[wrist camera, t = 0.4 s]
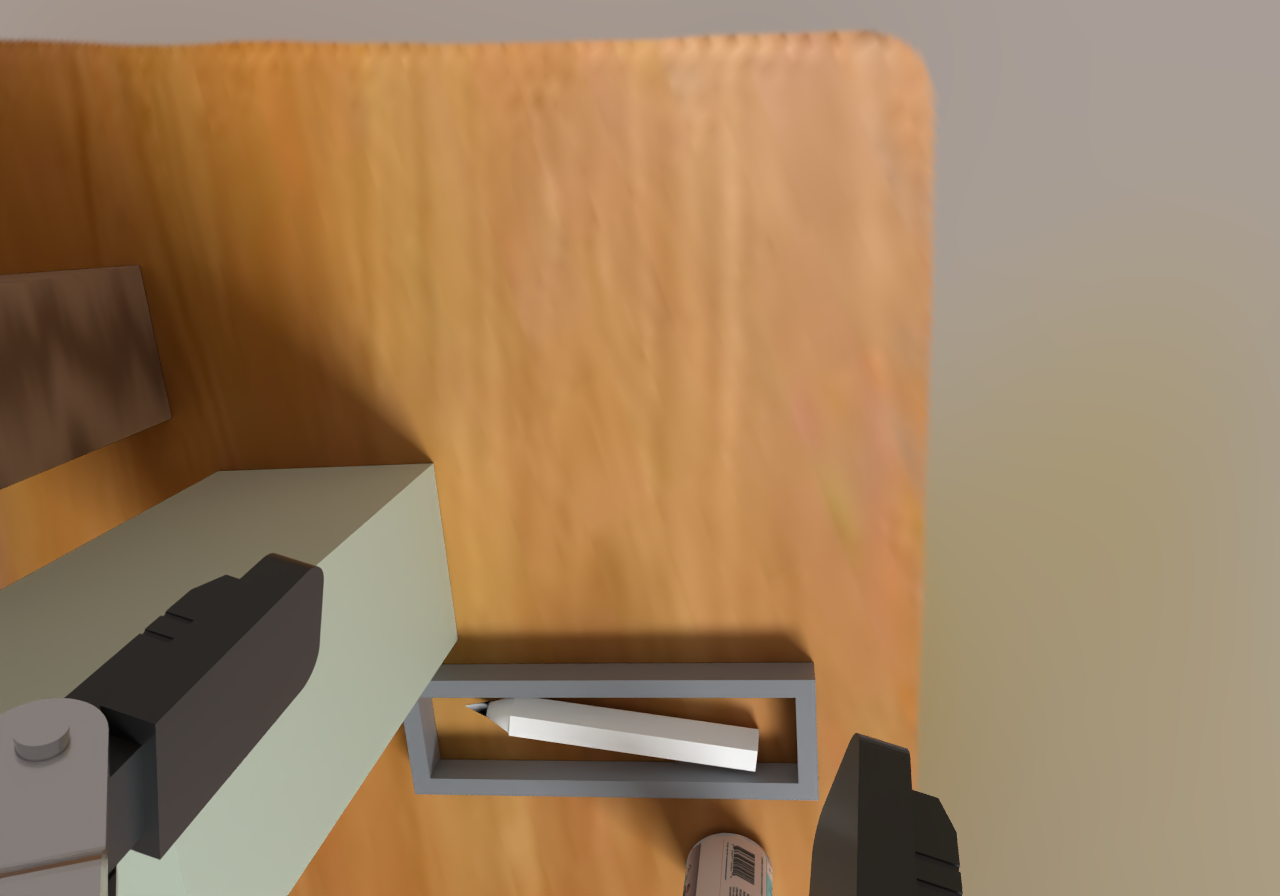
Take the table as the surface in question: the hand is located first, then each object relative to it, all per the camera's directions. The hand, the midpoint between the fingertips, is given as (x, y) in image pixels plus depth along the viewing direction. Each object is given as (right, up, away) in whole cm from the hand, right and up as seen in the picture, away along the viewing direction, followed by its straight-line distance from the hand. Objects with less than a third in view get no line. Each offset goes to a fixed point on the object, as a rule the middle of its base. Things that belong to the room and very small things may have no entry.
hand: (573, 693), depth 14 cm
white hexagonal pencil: (-1, -11, +39) cm, 40 cm away
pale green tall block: (-15, -2, +38) cm, 41 cm away
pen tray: (-1, -11, +38) cm, 40 cm away
